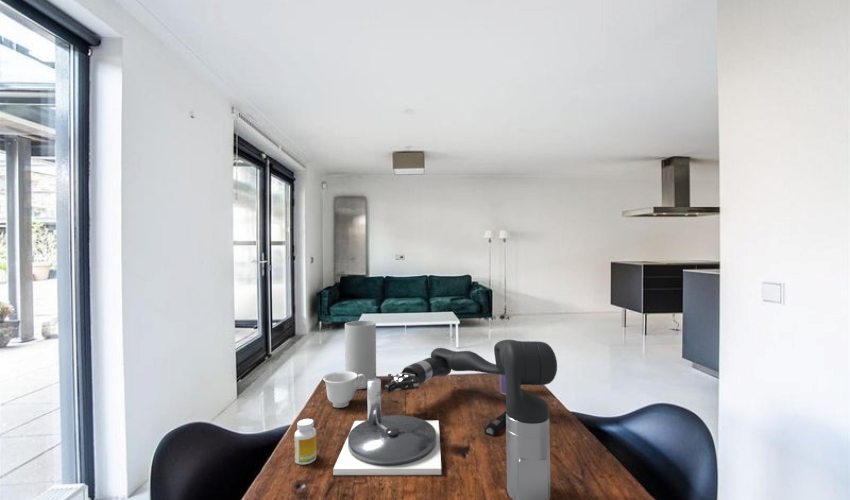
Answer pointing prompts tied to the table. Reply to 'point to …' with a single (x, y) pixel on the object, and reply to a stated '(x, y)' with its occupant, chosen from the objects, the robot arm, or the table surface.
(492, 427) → the electric trimmer
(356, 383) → the cylinder vase
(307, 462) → the supplement bottle
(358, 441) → the dial
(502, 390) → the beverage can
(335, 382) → the teacup
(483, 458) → the table surface
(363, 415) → the table surface
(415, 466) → the dial base plate
